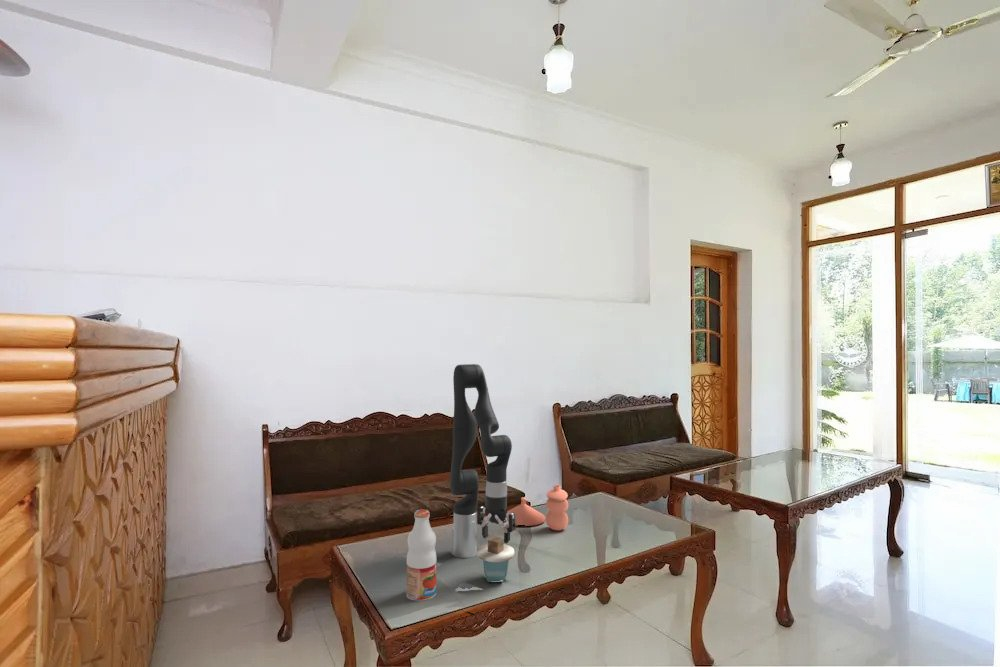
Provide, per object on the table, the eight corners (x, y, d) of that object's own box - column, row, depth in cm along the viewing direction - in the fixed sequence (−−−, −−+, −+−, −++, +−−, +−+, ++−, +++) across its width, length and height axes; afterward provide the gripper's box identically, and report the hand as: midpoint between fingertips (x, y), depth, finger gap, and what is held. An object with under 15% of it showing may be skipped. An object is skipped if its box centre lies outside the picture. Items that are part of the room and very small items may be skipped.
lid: (469, 556, 168) (469, 541, 168) (489, 543, 179) (489, 529, 179) (502, 565, 162) (502, 550, 162) (520, 551, 173) (521, 536, 173)
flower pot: (507, 573, 175) (507, 548, 175) (508, 585, 166) (509, 559, 166) (482, 573, 175) (482, 548, 175) (482, 586, 166) (483, 559, 166)
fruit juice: (412, 591, 162) (412, 506, 162) (439, 593, 161) (440, 507, 161) (401, 606, 153) (402, 516, 153) (431, 609, 151) (431, 518, 152)
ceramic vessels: (491, 517, 230) (491, 477, 230) (520, 506, 245) (521, 468, 246) (551, 538, 206) (552, 493, 206) (579, 524, 222) (580, 483, 222)
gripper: (473, 492, 171) (472, 539, 171) (508, 499, 164) (508, 548, 164) (484, 487, 178) (484, 532, 177) (519, 493, 170) (519, 540, 170)
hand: (495, 540), depth 171 cm, fingers open, 8 cm apart
